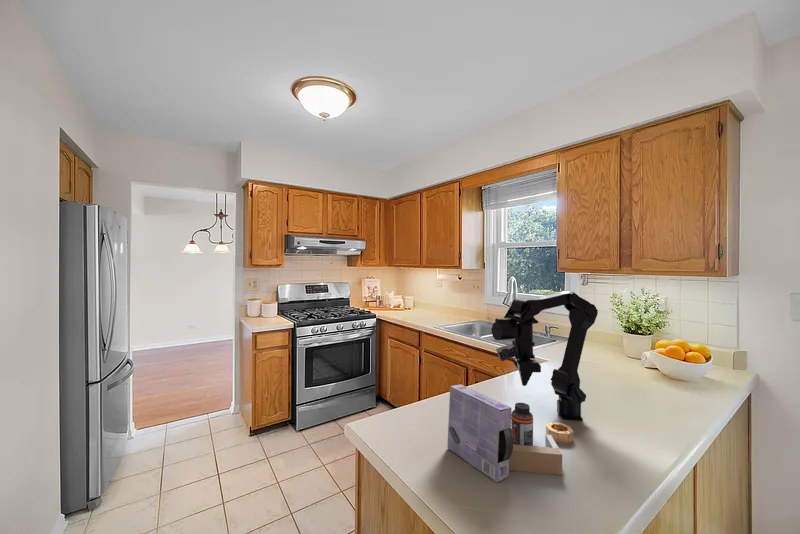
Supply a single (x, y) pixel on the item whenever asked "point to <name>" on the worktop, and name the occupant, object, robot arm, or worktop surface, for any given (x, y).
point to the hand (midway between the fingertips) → (524, 385)
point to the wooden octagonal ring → (560, 432)
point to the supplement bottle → (522, 425)
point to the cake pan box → (480, 431)
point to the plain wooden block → (537, 458)
